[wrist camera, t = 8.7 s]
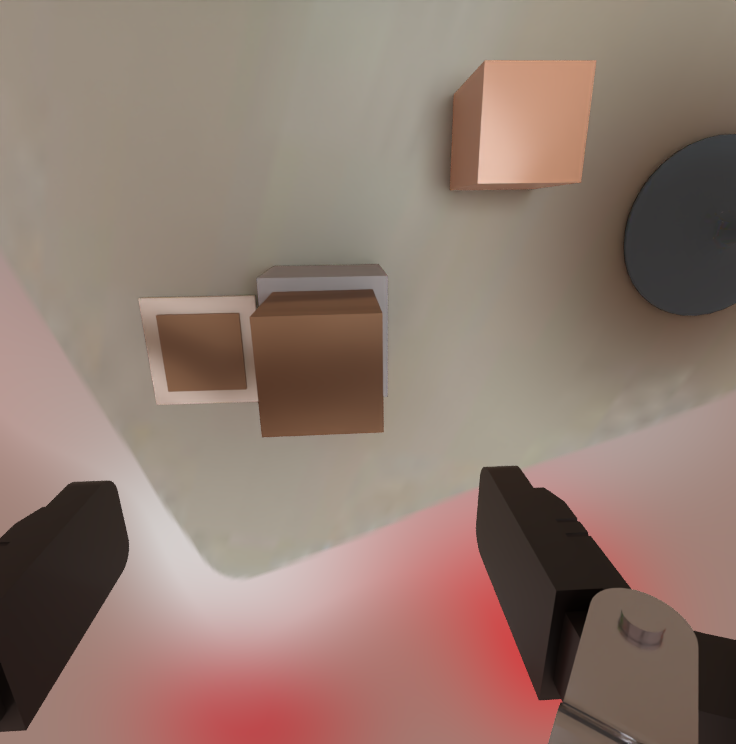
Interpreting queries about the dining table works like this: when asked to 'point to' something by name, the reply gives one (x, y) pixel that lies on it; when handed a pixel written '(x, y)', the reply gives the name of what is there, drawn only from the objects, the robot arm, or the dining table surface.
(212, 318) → the tile
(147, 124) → the dining table surface
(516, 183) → the terracotta block
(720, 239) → the cocktail glass
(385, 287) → the grey block
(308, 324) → the walnut block
